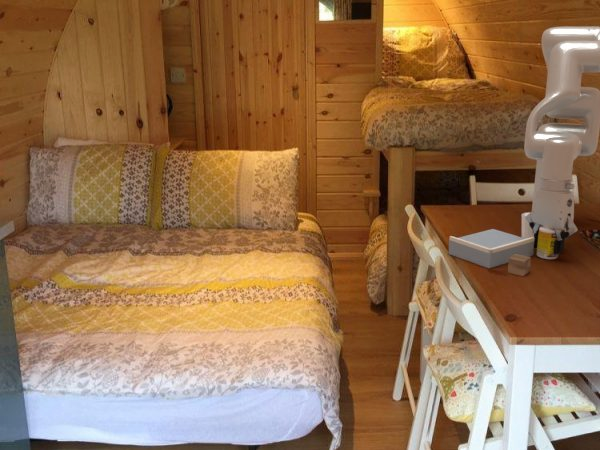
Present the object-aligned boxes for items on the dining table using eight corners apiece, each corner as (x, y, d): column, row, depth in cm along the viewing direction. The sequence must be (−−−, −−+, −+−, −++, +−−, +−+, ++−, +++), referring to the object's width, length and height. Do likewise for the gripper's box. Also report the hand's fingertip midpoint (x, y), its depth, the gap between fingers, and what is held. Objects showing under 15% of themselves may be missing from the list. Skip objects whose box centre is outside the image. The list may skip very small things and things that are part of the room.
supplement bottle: (549, 261, 170) (553, 224, 167) (531, 255, 175) (535, 219, 172) (562, 257, 173) (566, 221, 170) (544, 252, 178) (548, 216, 175)
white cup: (515, 237, 190) (517, 215, 188) (525, 232, 195) (527, 210, 193) (538, 242, 186) (540, 219, 184) (547, 237, 190) (550, 214, 188)
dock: (491, 242, 186) (493, 225, 185) (532, 255, 175) (534, 237, 174) (448, 253, 177) (449, 236, 175) (489, 268, 166) (490, 250, 164)
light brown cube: (513, 268, 166) (515, 253, 165) (529, 272, 163) (530, 257, 162) (507, 272, 163) (508, 258, 162) (523, 276, 160) (524, 261, 159)
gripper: (593, 189, 163) (584, 256, 169) (535, 177, 177) (529, 239, 182) (576, 193, 159) (567, 261, 165) (518, 180, 173) (512, 244, 178)
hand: (547, 249), depth 173 cm, fingers closed on supplement bottle, 5 cm apart
